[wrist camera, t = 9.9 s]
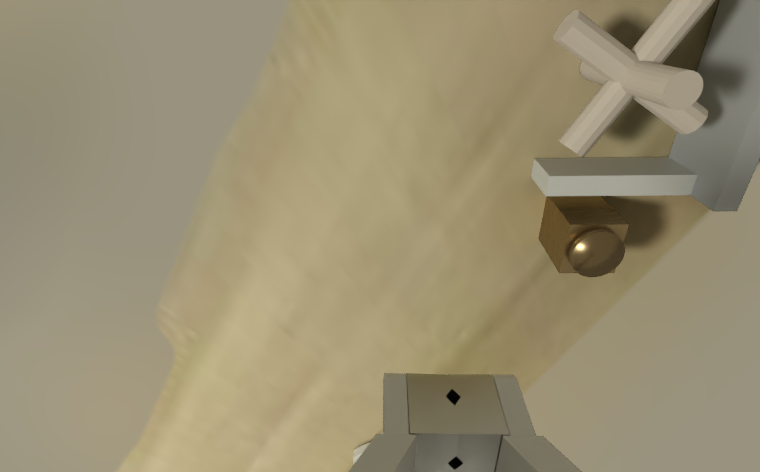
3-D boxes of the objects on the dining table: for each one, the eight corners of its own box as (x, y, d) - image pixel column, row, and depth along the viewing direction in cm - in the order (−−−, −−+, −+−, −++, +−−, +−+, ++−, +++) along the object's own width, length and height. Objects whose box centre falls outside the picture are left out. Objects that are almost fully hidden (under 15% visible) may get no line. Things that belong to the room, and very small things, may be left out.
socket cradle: (682, 175, 34) (736, 211, 29) (531, 177, 34) (558, 212, 29) (765, -61, 26) (858, -70, 21) (570, -58, 27) (617, -67, 21)
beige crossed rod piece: (590, -55, 27) (694, -87, 18) (704, 38, 29) (845, 51, 20) (489, 91, 31) (532, 126, 22) (596, 164, 33) (675, 221, 24)
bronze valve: (587, 238, 37) (619, 279, 32) (538, 238, 37) (563, 279, 32) (598, 193, 35) (634, 230, 30) (547, 194, 35) (574, 230, 30)
